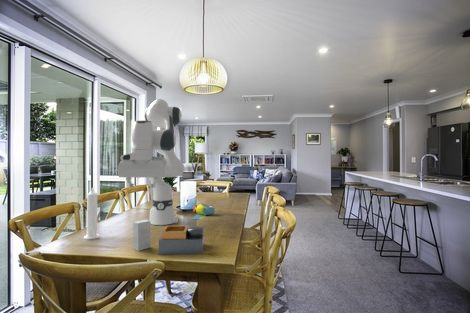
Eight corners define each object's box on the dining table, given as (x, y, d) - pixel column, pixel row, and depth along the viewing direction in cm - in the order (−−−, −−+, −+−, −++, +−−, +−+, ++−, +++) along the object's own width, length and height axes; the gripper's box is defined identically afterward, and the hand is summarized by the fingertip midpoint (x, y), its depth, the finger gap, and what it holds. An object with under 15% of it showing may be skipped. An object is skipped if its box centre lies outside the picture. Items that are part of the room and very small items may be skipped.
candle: (85, 236, 129) (85, 186, 129) (100, 234, 132) (101, 186, 132) (82, 240, 123) (82, 188, 123) (98, 238, 125) (99, 187, 125)
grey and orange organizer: (164, 244, 117) (164, 225, 117) (203, 244, 119) (203, 224, 119) (158, 254, 105) (158, 232, 105) (202, 253, 107) (202, 232, 107)
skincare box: (145, 245, 116) (145, 219, 116) (150, 247, 114) (150, 220, 114) (132, 249, 112) (133, 221, 112) (137, 251, 109) (138, 223, 109)
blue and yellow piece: (199, 199, 195) (218, 201, 192) (199, 211, 195) (218, 212, 192) (186, 206, 167) (209, 208, 164) (186, 220, 167) (208, 221, 164)
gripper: (167, 156, 117) (167, 186, 117) (121, 156, 115) (121, 186, 115) (165, 156, 111) (164, 188, 110) (116, 156, 109) (116, 188, 109)
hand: (142, 187), depth 113 cm, fingers open, 8 cm apart
